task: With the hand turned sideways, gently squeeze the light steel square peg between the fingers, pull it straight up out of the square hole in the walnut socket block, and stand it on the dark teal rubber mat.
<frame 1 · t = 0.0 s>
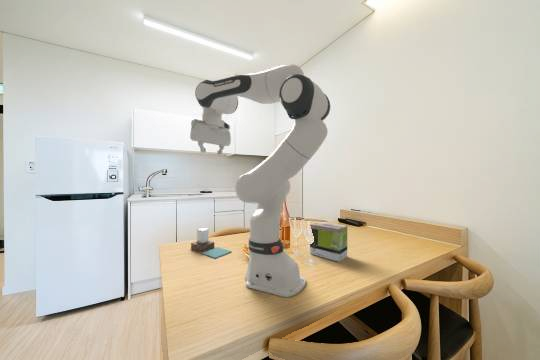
hand: (211, 153, 93), 48 cm above the table, tool pointing down, fingers open, 8 cm apart
steel peg: (202, 238, 105), in the socket block
rubber mat: (216, 252, 99), on the table
tea box: (328, 255, 97), on the table
socket block: (202, 248, 105), on the table
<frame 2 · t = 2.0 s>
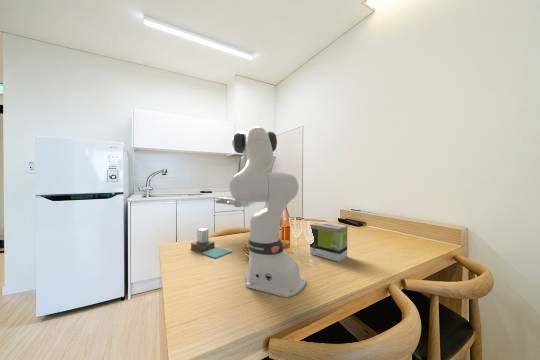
hand: (221, 202, 116), 23 cm above the table, tool horizontal, fingers open, 8 cm apart
nothing on the table moved.
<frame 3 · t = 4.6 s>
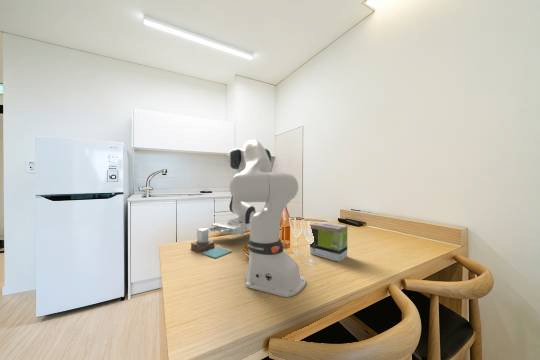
hand: (215, 231, 112), 7 cm above the table, tool horizontal, fingers open, 8 cm apart
nothing on the table moved.
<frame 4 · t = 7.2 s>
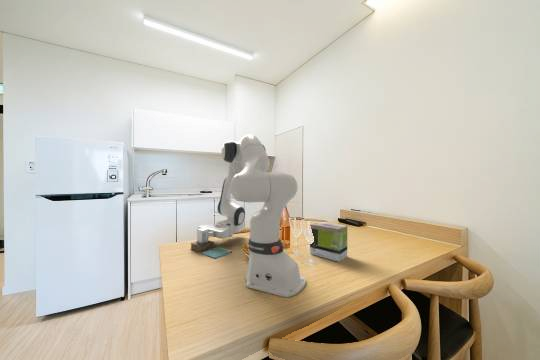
hand: (201, 234, 105), 8 cm above the table, tool horizontal, fingers closed on steel peg, 4 cm apart
steel peg: (202, 238, 105), in the socket block, touching gripper
everything else where it was.
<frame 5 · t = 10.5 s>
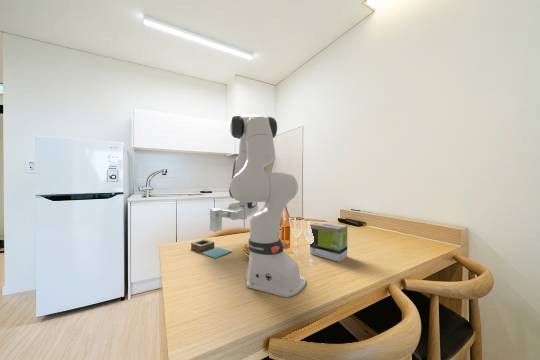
hand: (214, 215, 98), 19 cm above the table, tool horizontal, fingers closed on steel peg, 4 cm apart
steel peg: (215, 219, 99), point 16 cm above the table, touching gripper
everything else where it was.
when the fingers open (9 cm above the table, at t = 13.8 s): steel peg stays where it is, resting on rubber mat.
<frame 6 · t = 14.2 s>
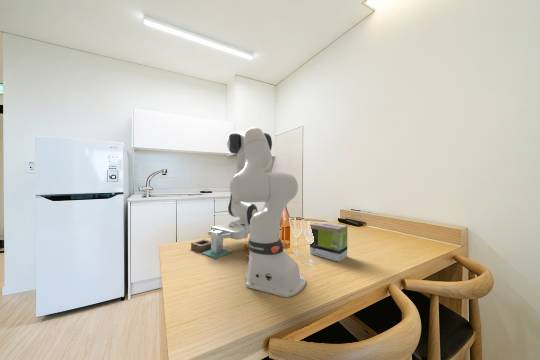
hand: (215, 235, 98), 9 cm above the table, tool horizontal, fingers open, 8 cm apart
steel peg: (217, 241, 99), on the rubber mat
everything else where it was.
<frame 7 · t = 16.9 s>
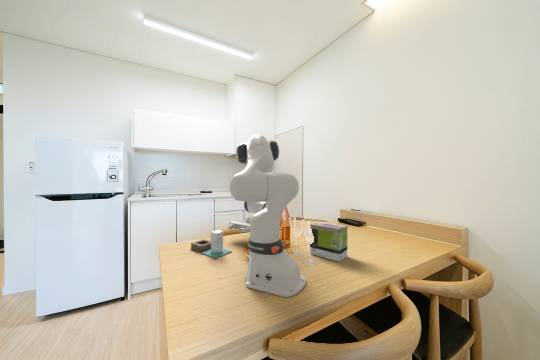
hand: (235, 229, 109), 9 cm above the table, tool horizontal, fingers open, 8 cm apart
nothing on the table moved.
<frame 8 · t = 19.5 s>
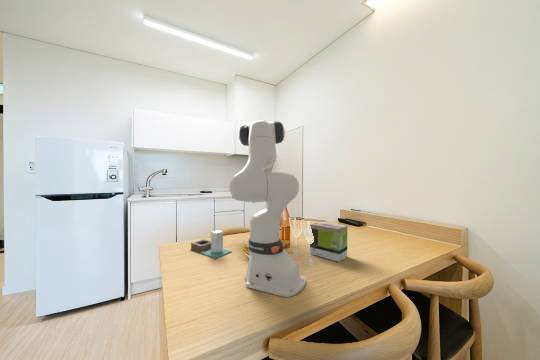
hand: (238, 197, 112), 26 cm above the table, tool horizontal, fingers open, 8 cm apart
nothing on the table moved.
at the end: steel peg inside the target area (0.1 cm from its centre), point 5.5 cm above the table; steel peg tilted 0°; the gripper is holding nothing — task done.
